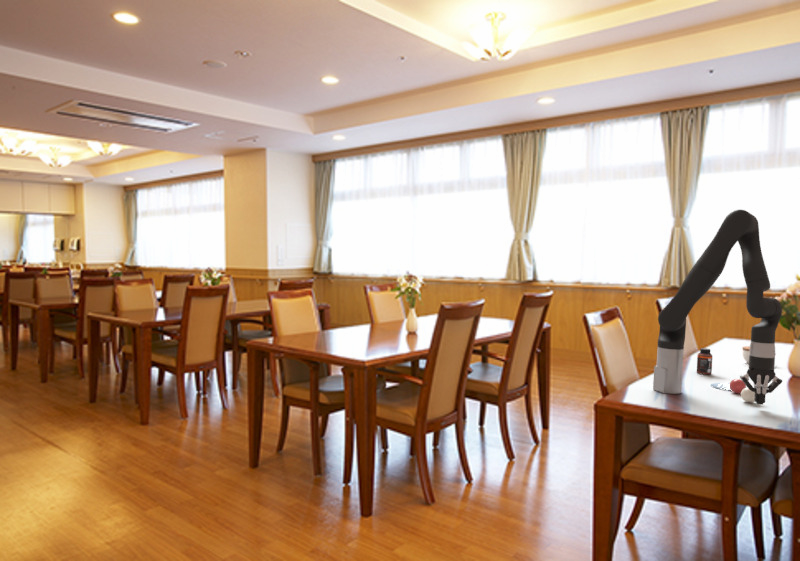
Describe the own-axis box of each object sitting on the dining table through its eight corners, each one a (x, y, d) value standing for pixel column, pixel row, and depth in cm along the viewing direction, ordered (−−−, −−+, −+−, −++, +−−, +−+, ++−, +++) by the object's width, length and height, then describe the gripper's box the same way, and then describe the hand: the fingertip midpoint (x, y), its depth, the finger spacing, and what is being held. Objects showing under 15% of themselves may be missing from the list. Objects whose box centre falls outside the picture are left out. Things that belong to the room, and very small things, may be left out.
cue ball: (749, 404, 201) (750, 389, 200) (736, 400, 206) (737, 386, 206) (761, 404, 202) (762, 389, 202) (748, 400, 207) (749, 385, 207)
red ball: (737, 395, 214) (738, 381, 214) (725, 391, 219) (726, 377, 219) (748, 394, 215) (749, 380, 215) (737, 391, 221) (738, 377, 220)
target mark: (730, 392, 217) (730, 392, 217) (702, 384, 231) (702, 383, 231) (759, 391, 221) (759, 390, 221) (730, 382, 234) (730, 382, 234)
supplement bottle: (713, 375, 248) (714, 350, 247) (698, 374, 249) (700, 349, 249) (708, 372, 254) (710, 348, 253) (694, 371, 255) (696, 347, 254)
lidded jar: (746, 360, 286) (747, 342, 285) (770, 364, 278) (771, 345, 277) (738, 362, 279) (739, 344, 278) (762, 366, 271) (763, 347, 270)
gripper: (779, 354, 196) (776, 402, 197) (737, 351, 199) (734, 399, 200) (788, 358, 189) (785, 408, 189) (744, 355, 192) (741, 405, 193)
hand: (759, 403), depth 195 cm, fingers closed
